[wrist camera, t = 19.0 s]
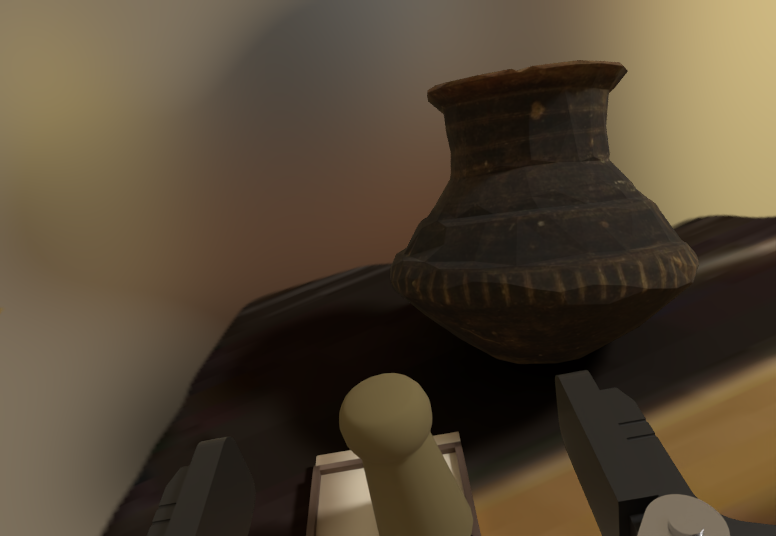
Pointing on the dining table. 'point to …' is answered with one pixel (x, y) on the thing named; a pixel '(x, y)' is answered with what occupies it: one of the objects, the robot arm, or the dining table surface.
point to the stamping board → (366, 491)
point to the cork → (403, 459)
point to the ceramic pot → (539, 221)
